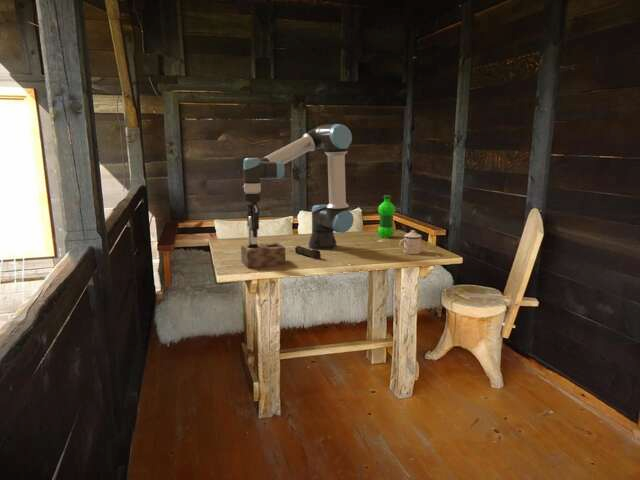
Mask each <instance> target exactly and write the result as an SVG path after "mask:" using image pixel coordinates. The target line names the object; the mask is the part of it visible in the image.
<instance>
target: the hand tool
mask: <svg viewBox="0 0 640 480" xmlns="http://www.w3.org/2000/svg"><path fill="white" fill-rule="evenodd" d="M294 251H295V254H301V255H304V256H308V257H310V258H311V259H313V258H314V259H313V260H318V259H319V260H321V256H322V255H321V251H320V249H313V248H312V249H311V248H310V249H309V248H306V247H303V246H301V245H297V246H295V247H294Z"/></svg>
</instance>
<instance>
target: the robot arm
mask: <svg viewBox="0 0 640 480" xmlns="http://www.w3.org/2000/svg"><path fill="white" fill-rule="evenodd" d="M352 141H353V135H352V132H351V130H350V129H349V128H348V127H347V126H346V125H344V124H340V123H334V124H333V123H331V124H322V125H319V126H317V127H315V128H313V129H311V130H309V131H308V132H305V133H304V134H303V135H302V137H301V138H299V139H296V140H295V141H293V142H291V143H289V144H286V145H285V146H283V147H281V148H279V149H277V150H275V151H273V152H272V153H269V154H268V155H266V156H264V157H262V158H258V157H246V158H244V159H243V164H242V165H243V167H242V170H243V185H242V188H243V191H244V193H243V201H244V202H247V204H246V206H245V207H246V217H247V218H246V219H247V221H246V223H247V224H246V225H247V227H248V228H249V223H248V216H251V222H252V229H250V230H251V239H252V244H259V242H258V240H259V239H258V237H259V236H258V235H259V233H258V230H260V216H259V215H260V214H259V213H260V208H259V206H258V202H261V200H262V199H261V198H262V195H261V190H262V188H261V187H262V186H261V185H262V183H261V180H263V179H264V180H265V179H267V180H268V179H269V180H270V179H271V180H272V179H275V180H277V179H282V178H283V177H284V176H285V174H286V173H285V172H286V171H285V170H286V168H285V164H287V163H289V162H291V161H293V160H294V159H297V158H299V157H300V156H302V155H305V154H306V153H308V152H313V151H316V150H319V149H323V151H324V152H323V153H324V154H325V155H326V156H327V176H328V177H327V183H328V184H327V185H328V204H316V205H313V206H312V207H311V234H310V237H309V240H308V247H309V248H310V249H312V250H313V249H315V250H331V249H336V248H337V240H336V237H335V234H334V232H335V233H340V234H344V233H346V232H349V230H350V229H351V228H352V226H353V224H354V215H353V214H352V212H351V211H350V205H349V204H348V203H347V201H346V200H347V198H346V197H347V196H346V195H347V194H346V162H345V161H346V157H345V156H346V154H348V148H349V147H350V146H351V145H350V144H352Z"/></svg>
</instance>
